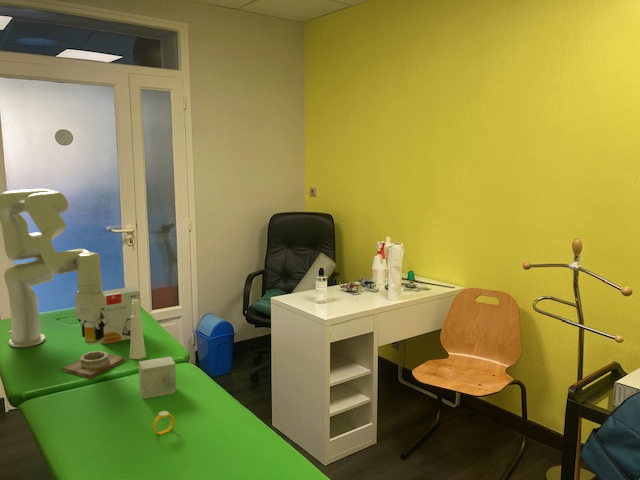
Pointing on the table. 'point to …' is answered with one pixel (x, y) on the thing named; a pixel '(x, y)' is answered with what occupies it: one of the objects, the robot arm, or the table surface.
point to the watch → (163, 415)
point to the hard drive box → (119, 313)
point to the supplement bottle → (90, 333)
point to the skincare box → (157, 377)
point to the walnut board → (93, 370)
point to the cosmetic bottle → (136, 333)
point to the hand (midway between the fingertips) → (93, 336)
